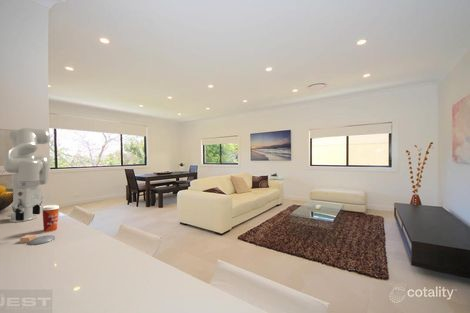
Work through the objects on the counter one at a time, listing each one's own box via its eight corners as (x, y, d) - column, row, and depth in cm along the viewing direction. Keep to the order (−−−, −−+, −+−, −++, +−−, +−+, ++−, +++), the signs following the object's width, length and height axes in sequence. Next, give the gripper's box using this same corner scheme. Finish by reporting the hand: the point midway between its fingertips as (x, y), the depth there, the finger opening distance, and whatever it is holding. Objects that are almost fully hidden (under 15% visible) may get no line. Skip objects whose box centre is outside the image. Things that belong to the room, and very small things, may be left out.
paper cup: (50, 232, 116) (51, 208, 116) (37, 232, 116) (37, 207, 116) (62, 227, 124) (63, 204, 124) (50, 227, 124) (50, 204, 124)
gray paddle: (59, 236, 112) (59, 232, 111) (45, 244, 102) (45, 239, 102) (31, 237, 110) (32, 232, 110) (14, 245, 100) (14, 240, 100)
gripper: (22, 187, 97) (21, 223, 97) (50, 181, 114) (49, 212, 114) (3, 187, 96) (3, 223, 96) (34, 181, 113) (34, 211, 113)
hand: (28, 217), depth 105 cm, fingers open, 9 cm apart
